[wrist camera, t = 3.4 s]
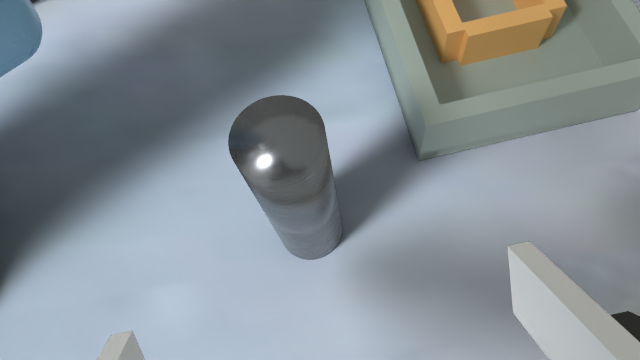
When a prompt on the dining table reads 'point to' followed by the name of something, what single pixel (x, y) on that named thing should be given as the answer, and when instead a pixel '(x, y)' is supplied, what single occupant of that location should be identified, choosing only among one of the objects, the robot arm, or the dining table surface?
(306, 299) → the dining table surface
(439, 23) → the walled box
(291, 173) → the peg
